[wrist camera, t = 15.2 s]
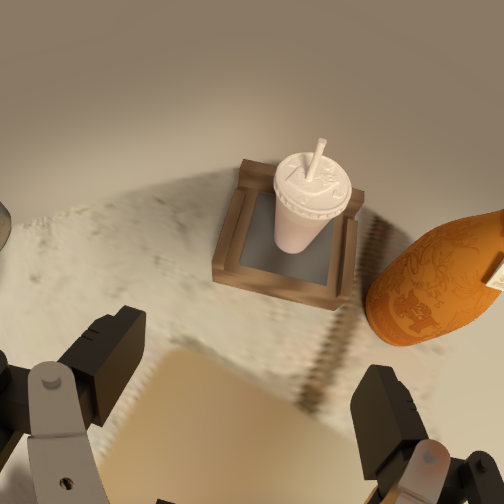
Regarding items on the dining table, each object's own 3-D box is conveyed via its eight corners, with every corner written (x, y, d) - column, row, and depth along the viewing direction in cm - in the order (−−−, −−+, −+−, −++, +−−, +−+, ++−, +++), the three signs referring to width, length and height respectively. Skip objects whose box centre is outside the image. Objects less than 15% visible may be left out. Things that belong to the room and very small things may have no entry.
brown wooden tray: (212, 281, 34) (211, 254, 28) (239, 195, 39) (243, 158, 33) (334, 310, 34) (359, 290, 28) (343, 223, 39) (364, 191, 33)
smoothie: (256, 213, 33) (276, 111, 21) (313, 210, 34) (355, 115, 22) (266, 268, 31) (296, 177, 18) (327, 262, 31) (386, 177, 19)
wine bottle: (344, 307, 34) (550, 105, 7) (390, 259, 38) (547, 81, 11) (397, 366, 31) (641, 258, 4) (437, 312, 35) (621, 183, 8)
